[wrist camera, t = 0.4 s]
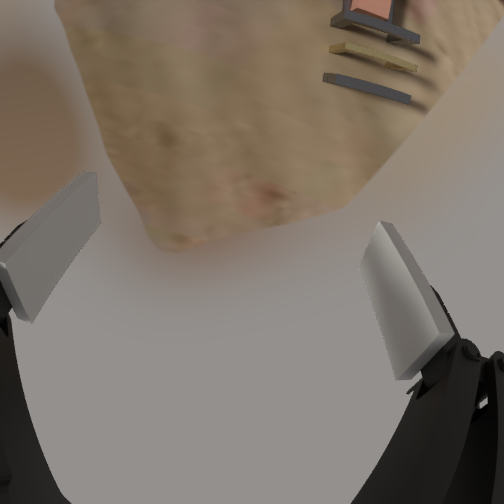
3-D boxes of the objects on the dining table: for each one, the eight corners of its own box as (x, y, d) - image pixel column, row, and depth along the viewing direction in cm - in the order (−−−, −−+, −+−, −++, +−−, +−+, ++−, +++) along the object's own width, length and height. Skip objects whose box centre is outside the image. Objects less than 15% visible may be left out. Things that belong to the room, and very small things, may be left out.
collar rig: (337, -41, 20) (353, -60, 14) (401, -19, 20) (428, -30, 14) (322, 81, 31) (336, 84, 25) (387, 97, 31) (412, 106, 25)
